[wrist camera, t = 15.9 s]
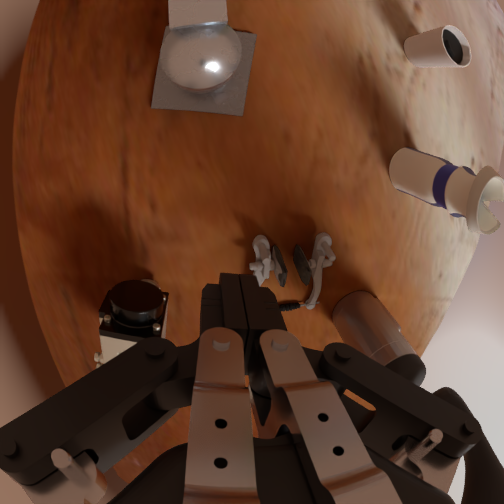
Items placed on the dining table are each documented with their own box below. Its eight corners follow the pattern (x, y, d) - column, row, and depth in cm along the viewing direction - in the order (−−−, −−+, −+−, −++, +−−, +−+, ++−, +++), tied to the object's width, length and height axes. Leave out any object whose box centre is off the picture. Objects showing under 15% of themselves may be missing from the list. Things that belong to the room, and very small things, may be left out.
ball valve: (122, 247, 41) (81, 321, 25) (175, 256, 43) (159, 336, 27) (122, 334, 48) (101, 412, 32) (166, 342, 50) (158, 423, 34)
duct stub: (255, 36, 30) (261, 25, 26) (241, 116, 35) (246, 115, 31) (167, 28, 28) (161, 16, 24) (152, 108, 33) (144, 107, 29)
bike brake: (243, 227, 41) (239, 321, 53) (250, 254, 36) (244, 350, 47) (331, 225, 43) (309, 315, 55) (349, 250, 38) (319, 342, 49)
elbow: (240, 89, 29) (245, 82, 24) (170, 98, 28) (160, 93, 23) (229, -37, 21) (232, -61, 15) (164, -30, 20) (156, -52, 14)
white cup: (424, 77, 34) (465, 76, 25) (396, 52, 32) (436, 44, 23) (435, 51, 32) (474, 47, 23) (408, 27, 30) (447, 16, 21)
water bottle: (429, 151, 40) (548, 195, 18) (418, 197, 44) (527, 262, 21) (394, 137, 39) (525, 176, 16) (383, 188, 42) (501, 258, 20)
